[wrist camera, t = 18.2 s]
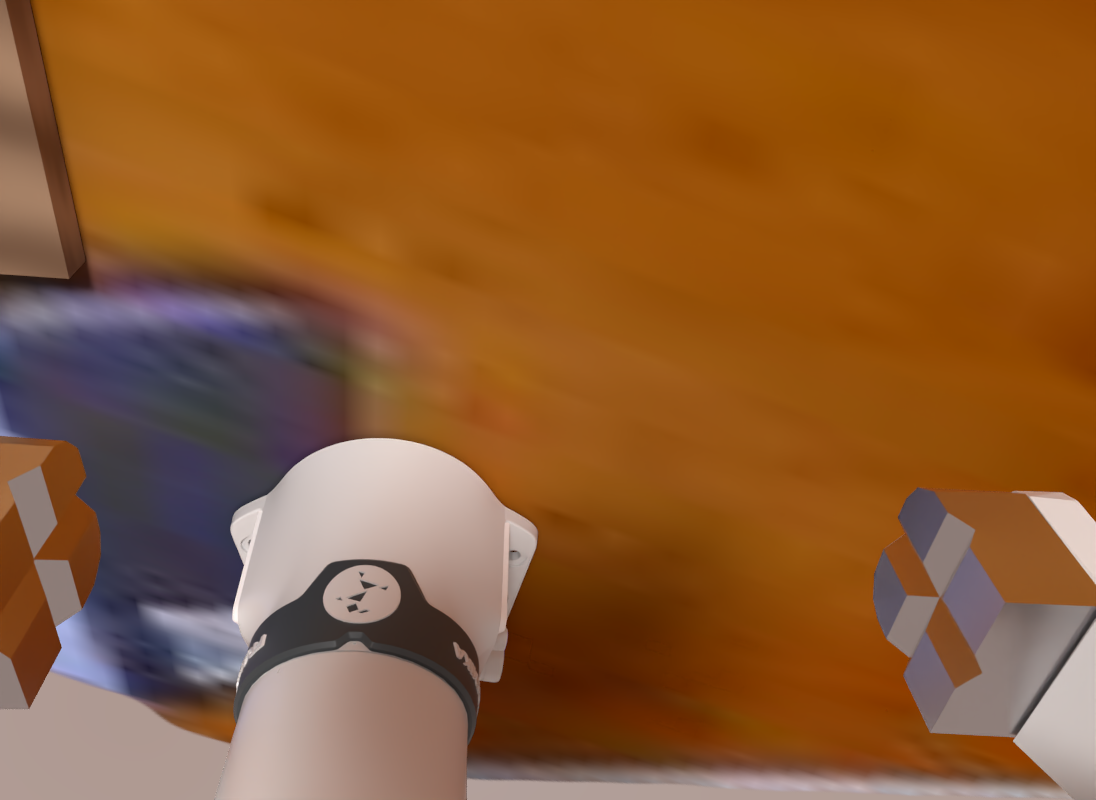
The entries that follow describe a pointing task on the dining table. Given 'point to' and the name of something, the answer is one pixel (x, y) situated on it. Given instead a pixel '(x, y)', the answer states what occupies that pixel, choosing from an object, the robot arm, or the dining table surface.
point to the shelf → (31, 160)
